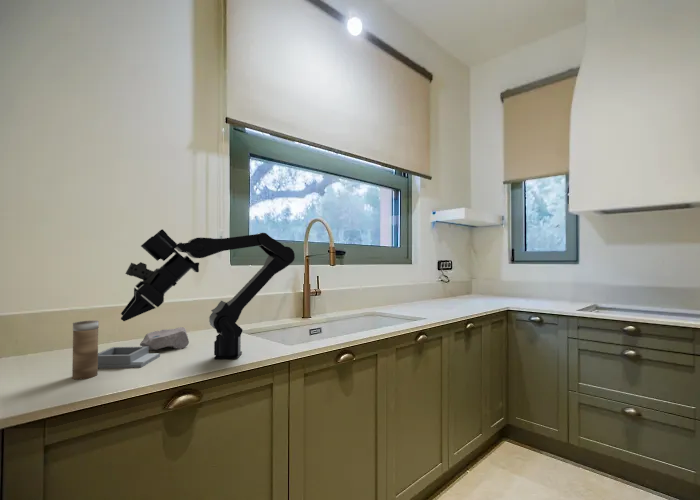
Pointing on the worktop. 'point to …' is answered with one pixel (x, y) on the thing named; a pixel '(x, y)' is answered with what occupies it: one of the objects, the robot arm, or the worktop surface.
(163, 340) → the stone
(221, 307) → the robot arm
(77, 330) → the round tan cylinder
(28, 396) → the worktop surface
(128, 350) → the cradle
